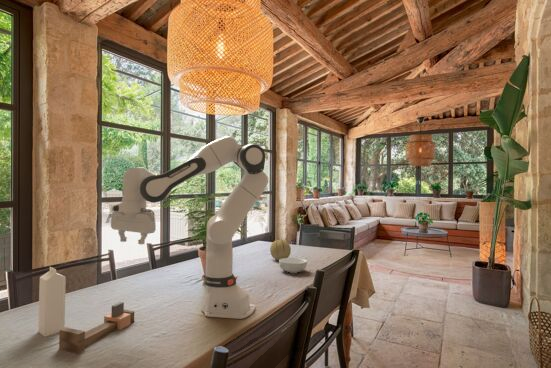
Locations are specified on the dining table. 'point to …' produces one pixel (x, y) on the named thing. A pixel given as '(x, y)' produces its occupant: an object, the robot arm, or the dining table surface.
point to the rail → (86, 335)
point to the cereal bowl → (292, 264)
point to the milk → (51, 303)
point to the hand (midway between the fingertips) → (132, 242)
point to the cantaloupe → (280, 249)
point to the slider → (119, 316)
